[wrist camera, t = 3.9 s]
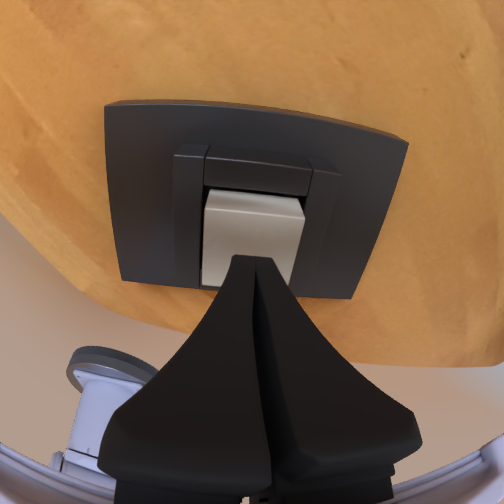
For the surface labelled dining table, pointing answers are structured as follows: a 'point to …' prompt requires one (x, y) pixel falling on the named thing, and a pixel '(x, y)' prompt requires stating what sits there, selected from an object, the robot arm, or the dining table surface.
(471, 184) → the dining table surface
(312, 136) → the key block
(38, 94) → the dining table surface
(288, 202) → the ivory key
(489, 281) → the dining table surface
